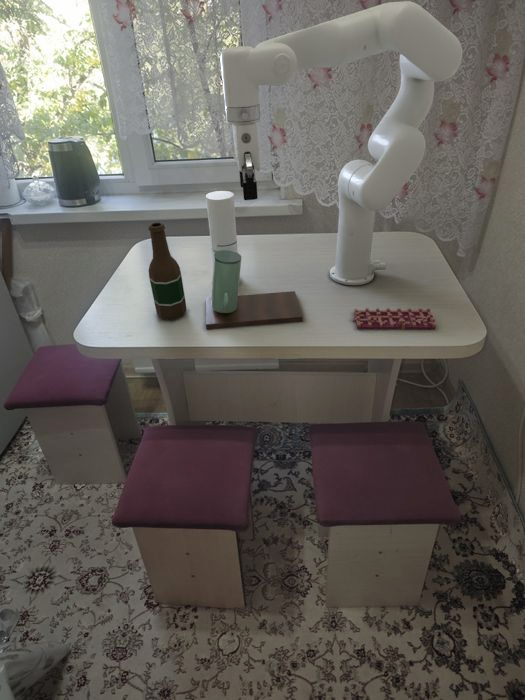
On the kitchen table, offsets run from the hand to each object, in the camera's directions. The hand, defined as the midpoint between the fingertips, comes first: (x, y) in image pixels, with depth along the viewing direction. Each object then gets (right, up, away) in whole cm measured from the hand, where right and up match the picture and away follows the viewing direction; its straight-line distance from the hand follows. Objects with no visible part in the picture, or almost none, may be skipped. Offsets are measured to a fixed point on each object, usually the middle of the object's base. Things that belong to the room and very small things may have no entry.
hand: (248, 192), depth 110 cm
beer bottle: (-20, -29, +9) cm, 36 cm away
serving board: (+1, -28, +8) cm, 29 cm away
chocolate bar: (+35, -31, +2) cm, 47 cm away
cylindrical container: (-7, -18, +22) cm, 30 cm away
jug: (-6, -28, +6) cm, 29 cm away
